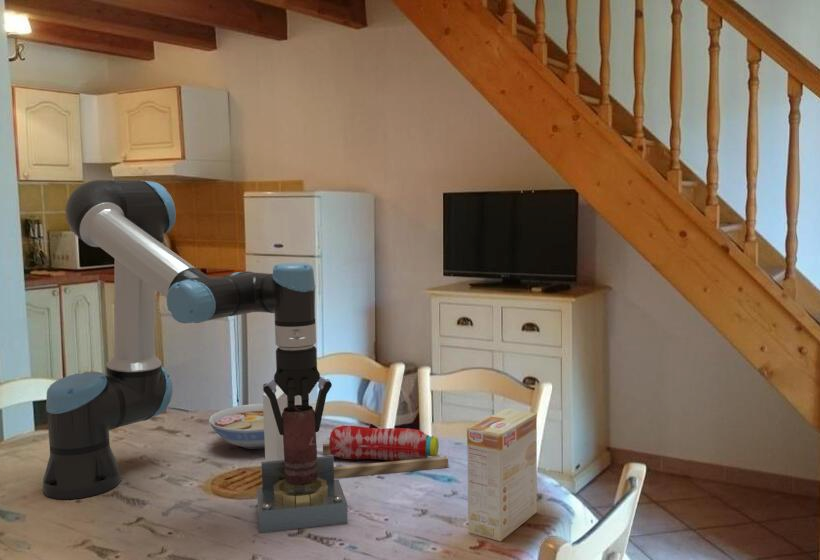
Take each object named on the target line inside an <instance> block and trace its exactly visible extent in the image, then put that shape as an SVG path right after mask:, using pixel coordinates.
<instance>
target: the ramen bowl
mask: <svg viewBox="0 0 820 560" xmlns="http://www.w3.org/2000/svg"><path fill="white" fill-rule="evenodd" d="M208 423H209V424H210V426H211V428H212V429H213V431H215V433H216V434H217V435H218V436H219V437H221V438H222V439H223V440H224V441H225V442H226V443H228V444H230V445H234V446H239V447H243V448H245V449H247V450H261V449H265V439H264V411H263V403H251V404H250V403H249V404H243V405H237V406H231V407H228V408H226V409H225V408H224V409H221V410H219V411H217V412H215V413H213V414H211V415H210V416H209V420H208Z"/></svg>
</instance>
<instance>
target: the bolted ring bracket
mask: <svg viewBox="0 0 820 560" xmlns="http://www.w3.org/2000/svg"><path fill="white" fill-rule="evenodd" d="M334 457H335V456H334V455H326V456H325V455H322V456H317V466H318V477H317V479H316V481H315V482H313V483H311V484H308V485H302V486H296V485H290V484H288V483H287V481H286V479H285V464H284V460H278V461H267V462H265V461H261V462H260V465H261V484H262V485H261V486H257V487H256V491H257V492H256V495H257V497H256V498H257V516H258V527H259V528H258V529H259V530H258V531H259V534H262V533H271V532H272V533H273V532H280V531H289V530H299V529H305V528H307V529H308V528H315V527H324V526H325V527H327V526H334V525H335V526H336V525H343V524H348V502H347V498H346V497H345V493H344V491H343V489H342V485H341V482H340V479H339V478H336V479H335V478H334V467H335V465H334V462H335V461H334Z"/></svg>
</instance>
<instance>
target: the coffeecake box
mask: <svg viewBox="0 0 820 560" xmlns="http://www.w3.org/2000/svg"><path fill="white" fill-rule="evenodd" d="M537 415H538V413H535V412H530V411H523V410H519V409H516V408H508V407H507V408H503V409H501V410H500V411H498V412H496V413H494V414H492V415H490V416H488V417H486V418H484V419H483V420H481V421H479V422H476V423H475V424H472V425H470V426H469V427H466V436H467V437H466V438H467V439H466V441H467V443H466V444H467V446H466V447H467V448H466V449H467V451H466V452H467V516H468V517H467V520H468V521H467V522H468V523H467V524H468V525H467V529H468V530H467V531H468V533H469V534H471V535H475V536H477V537H478V536H479V537H484V538H487V539H489V540H493V541H497V542H502V541H504V539H506V538H507V537H508V536H509V535H511V534H512V533H513V532H514V531H515V530H517V529H518V528H519V527H520V526H522V525H523V524H525V523H526V522H527V521H528V520H530V518H532V517H533V516H534V515H536V514H537V513H538V508H537V506H538V505H537V503H538V502H537V499H538V498H537V497H538V495H537V494H538V492H537V491H538V490H537V489H538V488H537V487H538V481H537V479H538V477H537V476H538V473H537V471H538V466H537V465H538V464H537V463H538V461H537V460H538V458H537V457H538V456H537V455H538V454H537V452H538V451H537V447H538V446H537V444H538V443H537V436H538V435H537V432H538V429H537V423H538V422H537V417H538V416H537Z"/></svg>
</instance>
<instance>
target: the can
mask: <svg viewBox="0 0 820 560" xmlns="http://www.w3.org/2000/svg"><path fill="white" fill-rule="evenodd" d="M282 420H283V428H284V435H283V444H284V464H285V479H286V481H287V483H288V484H290V485H296V486H302V485H308V484H311V483H313V482H315V481H316V479H317V477H318V466H317V457H318V450H317V449H318V448H317V447H318V445H317V432H315V409H314V407H313V406H312V405H309V410H307V411H302V408H301V405H295V412H288V408H287V407H286V408H284V411H283V413H282Z"/></svg>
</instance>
